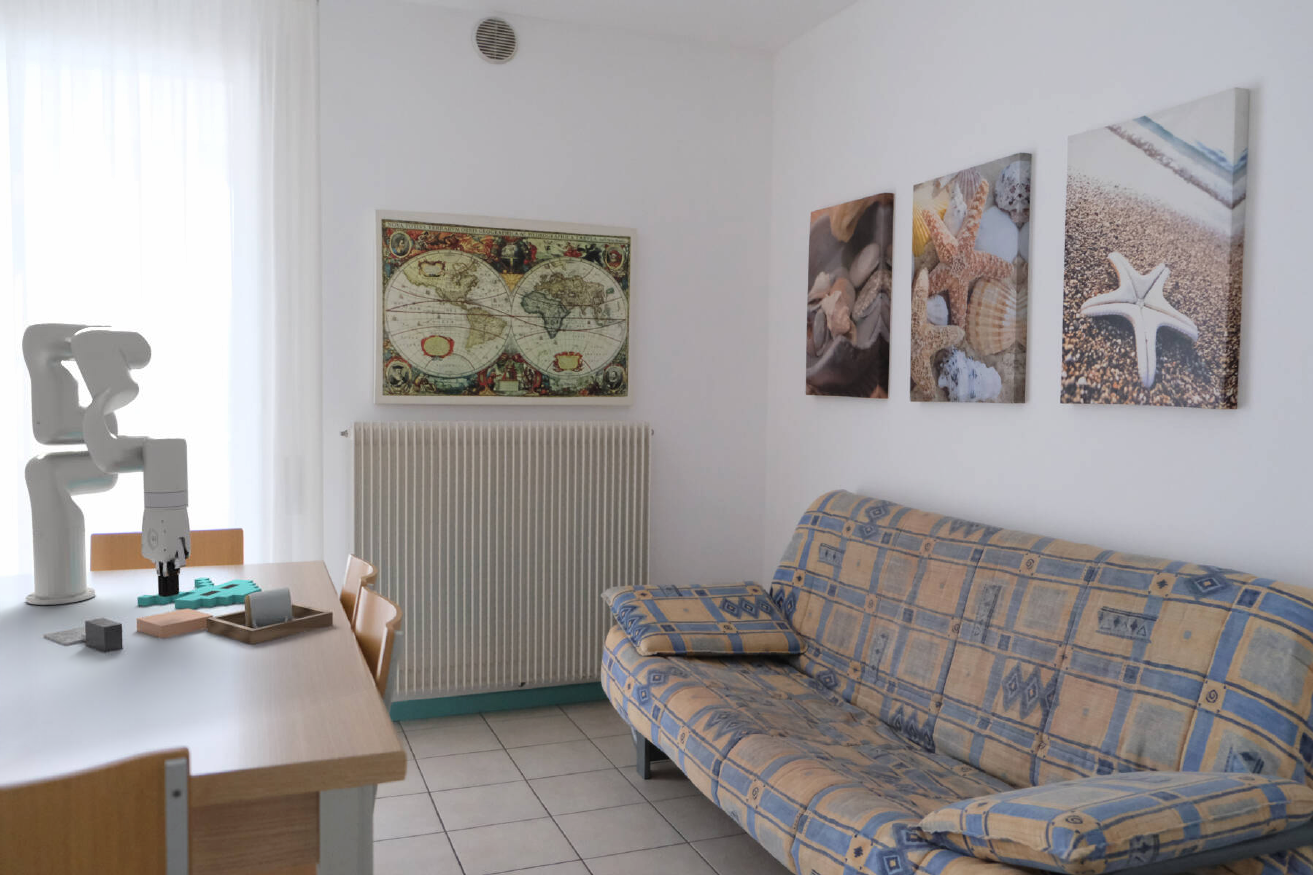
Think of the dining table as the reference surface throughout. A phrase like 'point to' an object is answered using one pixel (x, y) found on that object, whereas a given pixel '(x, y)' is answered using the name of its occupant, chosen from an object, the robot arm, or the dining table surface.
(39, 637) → the dining table surface
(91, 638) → the dark grey pieces
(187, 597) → the alien figure
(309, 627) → the wooden tray
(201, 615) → the block
